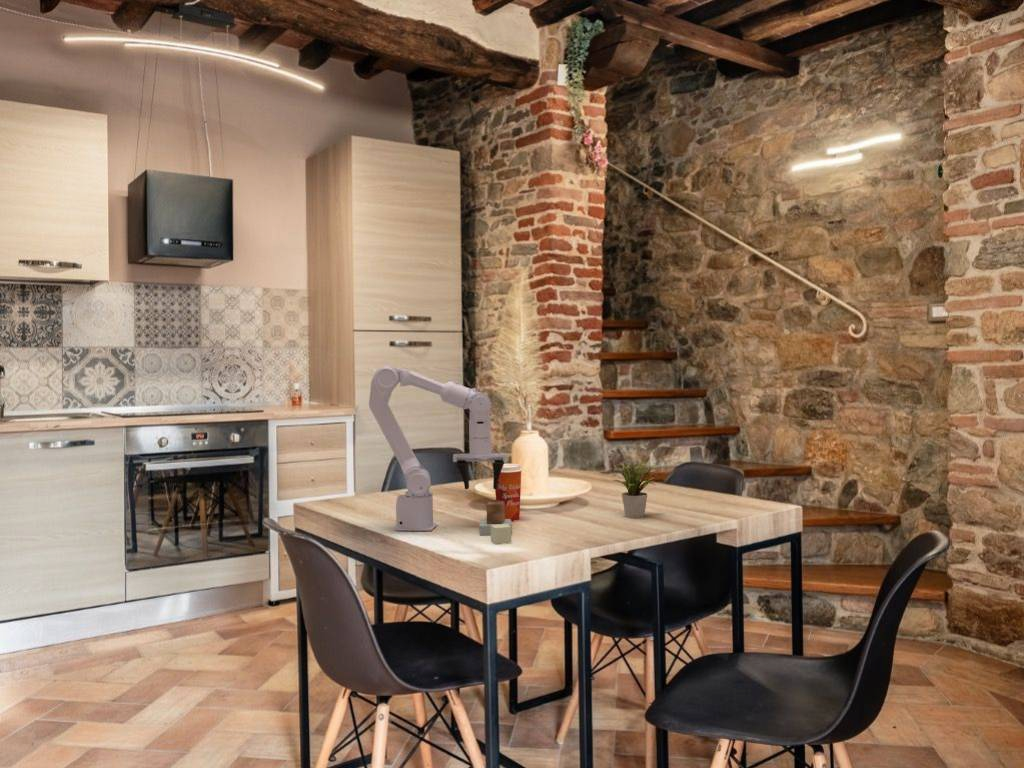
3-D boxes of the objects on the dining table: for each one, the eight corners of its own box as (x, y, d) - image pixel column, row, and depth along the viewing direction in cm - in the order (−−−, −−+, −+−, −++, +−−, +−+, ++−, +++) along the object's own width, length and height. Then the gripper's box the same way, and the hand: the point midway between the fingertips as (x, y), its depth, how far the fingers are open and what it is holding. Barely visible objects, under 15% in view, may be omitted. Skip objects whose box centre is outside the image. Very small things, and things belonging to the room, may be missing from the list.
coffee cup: (498, 523, 223) (497, 467, 222) (490, 517, 230) (489, 464, 230) (527, 520, 225) (526, 466, 224) (519, 515, 233) (517, 462, 232)
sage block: (495, 544, 197) (495, 528, 197) (490, 541, 201) (490, 525, 201) (511, 543, 198) (511, 526, 198) (506, 539, 202) (506, 523, 202)
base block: (480, 537, 207) (479, 525, 207) (480, 531, 215) (480, 519, 215) (511, 536, 207) (511, 525, 207) (510, 530, 215) (510, 518, 215)
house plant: (660, 522, 218) (659, 461, 218) (608, 521, 222) (607, 461, 221) (663, 512, 232) (662, 455, 232) (614, 511, 235) (613, 454, 235)
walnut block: (486, 523, 209) (486, 504, 209) (489, 520, 213) (489, 501, 213) (502, 524, 208) (502, 504, 208) (504, 521, 212) (504, 501, 212)
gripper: (450, 439, 216) (451, 491, 216) (504, 439, 214) (505, 491, 214) (455, 436, 223) (456, 486, 223) (508, 436, 221) (509, 486, 221)
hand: (481, 488), depth 219 cm, fingers open, 7 cm apart
